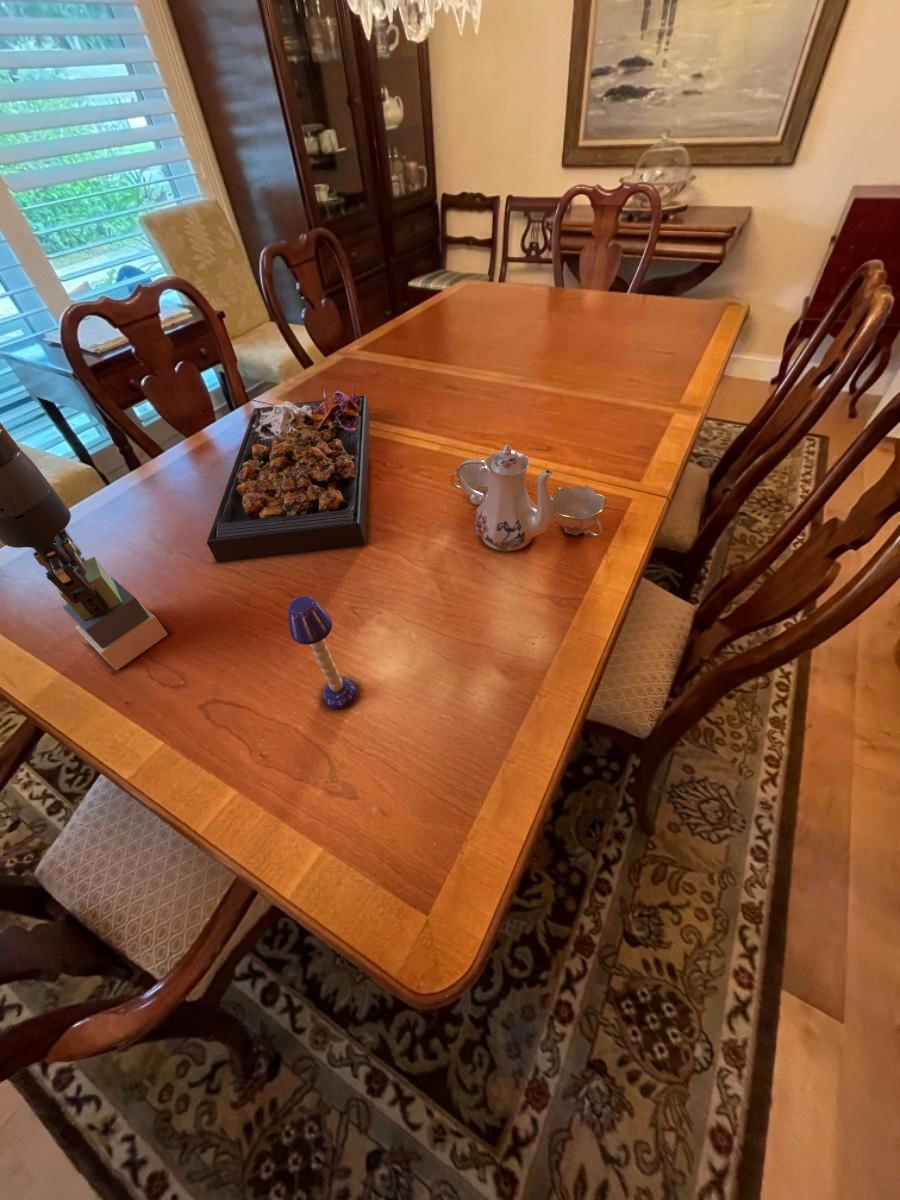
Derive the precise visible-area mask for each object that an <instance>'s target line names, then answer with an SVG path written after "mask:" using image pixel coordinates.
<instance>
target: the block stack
mask: <svg viewBox="0 0 900 1200" xmlns="http://www.w3.org/2000/svg"><path fill="white" fill-rule="evenodd" d="M110 578H111V579H112V580H113V582H114V583H115V585H116V588H117V590H118V593H119V595H120V598H121V601H122V604H119V605H117V606H115V607H113V608H111V609H109V610H108V611H107V612H105V613H102V614H100V615H98V616H93V617H91V618H89V619H87V620H85V621H83V620H82V619H81V618H80V617H79V616H78V614H77V613H76V612H75V611H74V610H73V609H72V608H71V607H70V605H69V604H68V603H67V604H65V605H64V606H62V609H64V611H65V612H66V613H67V614H68V615H69V617H70V618H72V619H73V621H74V622H75V623H76V624H77V625H75V626H74V628H75V629H76V630H77V632H79V634H80V635H81V636H82V637H83V638H84V639H85V640H86V642H87V643H89V645H90V646H91V647H93V649H94V650H95V651H96V652H97V653H98V654H99V655H100V656H101V657H102V658H103V659H104V660H105V661H106V662H107V663H108V664H109V665H110V666H111V667H112V668H113V669H114V670H115V671H118V670H120V669H121V668H123V667H124V666H125V665H127V664H128V663H130V662H132V661H133V660H134V659H136V658H137V657H138V656H140V655H141V654H143V653H144V652H146V651H147V650H148V649H150V648H151V647H153V646H154V645H156V644H157V643H158V642H159V641H161V640H162V639H164V638H165V637H167V636H168V632H167V630H165V628H164V626H163V625H162V624H161V623H160V621H159V620H158V618H157V617H156V616H155V615H154V614H153V613H152V612H151V611H150V610H149V609H147V608H146V607H145V606H143V605H142V604H141V603H140V601H139V600H138V598H137V597H136V596H135V595H133V594H132V593H131V592H130V591H128V589H126V588H125V587H124V586H123V585H122V584H121V583H119V582H118V581H117V580H116V579H114V578H113V577H111V576H110Z"/></svg>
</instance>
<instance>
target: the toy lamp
mask: <svg viewBox="0 0 900 1200" xmlns="http://www.w3.org/2000/svg"><path fill="white" fill-rule="evenodd" d="M287 617H288V628H289V635H290V637H291V638H292V640H293V641H294V642H295V643H297V644H299V645H303V646H305V645H306V646H310V649H311V650H312V651H313V656H314V657H315V659H316V661H317V664H318V666H319V668H320V670H321V673H322V675H324V679H325V681H326V682H327V683H328V684H326V686H325V687H324V690H323V694H322V698H323V703H324V704H325V706H326V707H328V708H329V709H331V710H343V709H345V708H347V707H349V706H350V705H351V704H352V703H354V701H355V700H356V697H357V687H356V686H355V684H354V683H353V682H352V681H350V680H349V679H346V678H342V677H341V675H340V672H339V670H337V665H336V663H335V662H334V660H333V656H332V655H331V653H330V650H329V647H328V646H327V644H326V638H327V637H328V635H329V634H330V633H331V632H332V628H333V620H332V618H331V616H330V615H329V613H328V612H327V611H326V610H325V609H324V608H323V607H322V606H321V604H320V603H319V602H318V601H317V600H316V599H315V598H314V597H312V596H310V595H301V596H298V597H295V598H294V599H292V601H290V603H289V604H288V607H287Z"/></svg>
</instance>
